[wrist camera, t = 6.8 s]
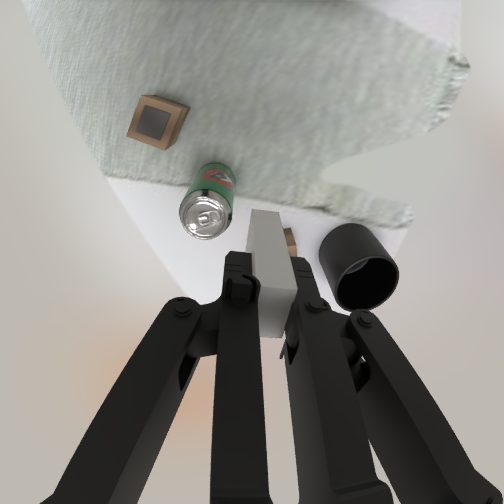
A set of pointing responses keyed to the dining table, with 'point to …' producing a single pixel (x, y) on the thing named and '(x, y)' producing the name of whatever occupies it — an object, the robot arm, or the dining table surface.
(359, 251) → the mug
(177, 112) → the walnut block
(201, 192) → the soda can
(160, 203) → the dining table surface
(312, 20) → the dining table surface
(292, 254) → the walnut block
